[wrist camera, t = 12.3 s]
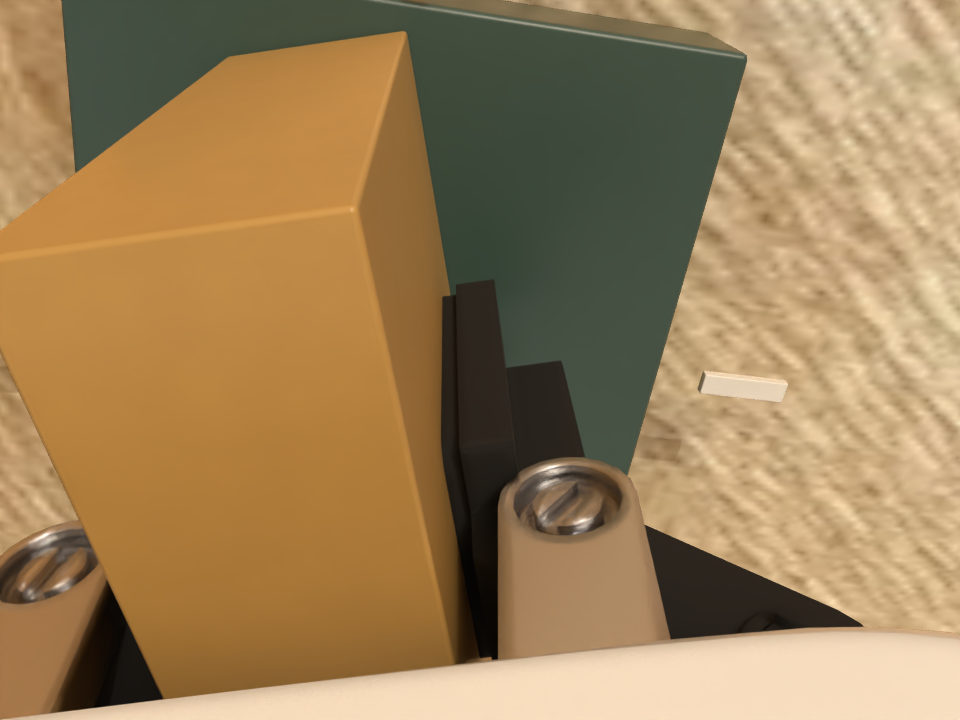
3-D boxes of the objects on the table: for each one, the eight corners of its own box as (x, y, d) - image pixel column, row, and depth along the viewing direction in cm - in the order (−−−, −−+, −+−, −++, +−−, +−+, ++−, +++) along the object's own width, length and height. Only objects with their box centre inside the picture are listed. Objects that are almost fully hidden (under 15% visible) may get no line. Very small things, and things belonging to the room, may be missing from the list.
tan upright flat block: (225, 56, 11) (-69, 279, 5) (406, 30, 11) (353, 220, 5) (362, 568, 15) (304, 1039, 9) (493, 552, 15) (525, 1014, 9)
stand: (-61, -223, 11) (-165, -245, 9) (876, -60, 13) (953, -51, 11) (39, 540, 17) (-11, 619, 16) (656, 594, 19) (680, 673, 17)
